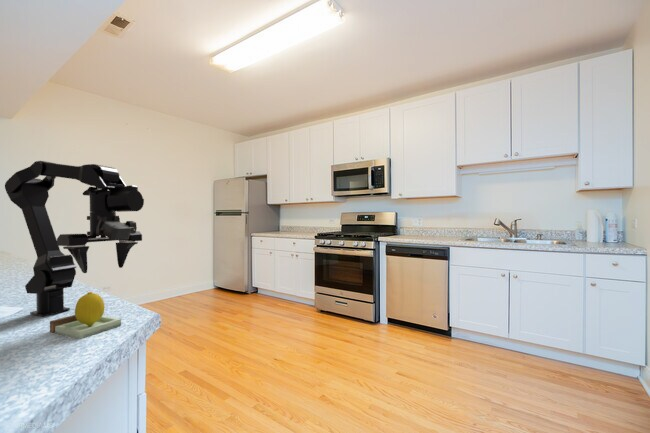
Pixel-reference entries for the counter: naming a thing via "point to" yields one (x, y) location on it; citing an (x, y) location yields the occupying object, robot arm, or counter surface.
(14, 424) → the counter surface
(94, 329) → the dish
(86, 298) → the lemon
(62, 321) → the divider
